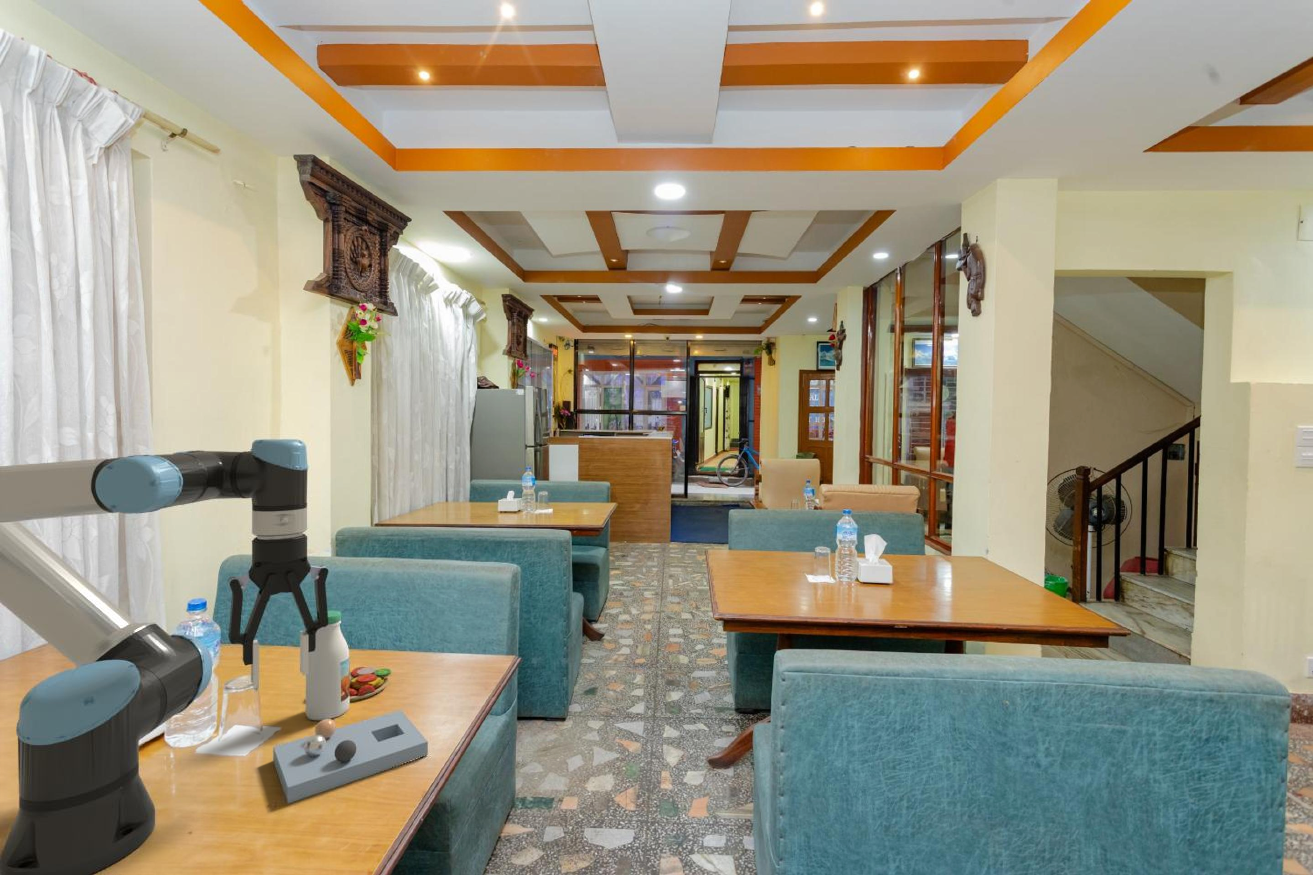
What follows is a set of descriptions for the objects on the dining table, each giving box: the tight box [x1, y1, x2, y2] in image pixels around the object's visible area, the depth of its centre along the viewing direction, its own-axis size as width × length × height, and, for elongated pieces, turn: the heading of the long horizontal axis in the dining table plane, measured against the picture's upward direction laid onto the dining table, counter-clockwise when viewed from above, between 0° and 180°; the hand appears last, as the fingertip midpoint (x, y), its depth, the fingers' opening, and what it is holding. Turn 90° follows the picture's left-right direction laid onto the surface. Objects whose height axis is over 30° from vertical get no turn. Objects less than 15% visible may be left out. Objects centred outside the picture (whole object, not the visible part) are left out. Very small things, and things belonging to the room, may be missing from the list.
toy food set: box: [350, 666, 392, 702], centre depth 130 cm, size 13×13×3 cm
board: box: [272, 709, 429, 805], centre depth 103 cm, size 21×15×2 cm
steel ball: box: [304, 734, 326, 756], centre depth 99 cm, size 3×3×3 cm
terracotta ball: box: [314, 718, 337, 739], centre depth 104 cm, size 3×3×3 cm
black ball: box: [335, 740, 356, 762], centre depth 97 cm, size 3×3×3 cm
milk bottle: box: [305, 610, 351, 721], centre depth 119 cm, size 8×8×20 cm
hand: (280, 677), depth 96 cm, fingers open, 6 cm apart
